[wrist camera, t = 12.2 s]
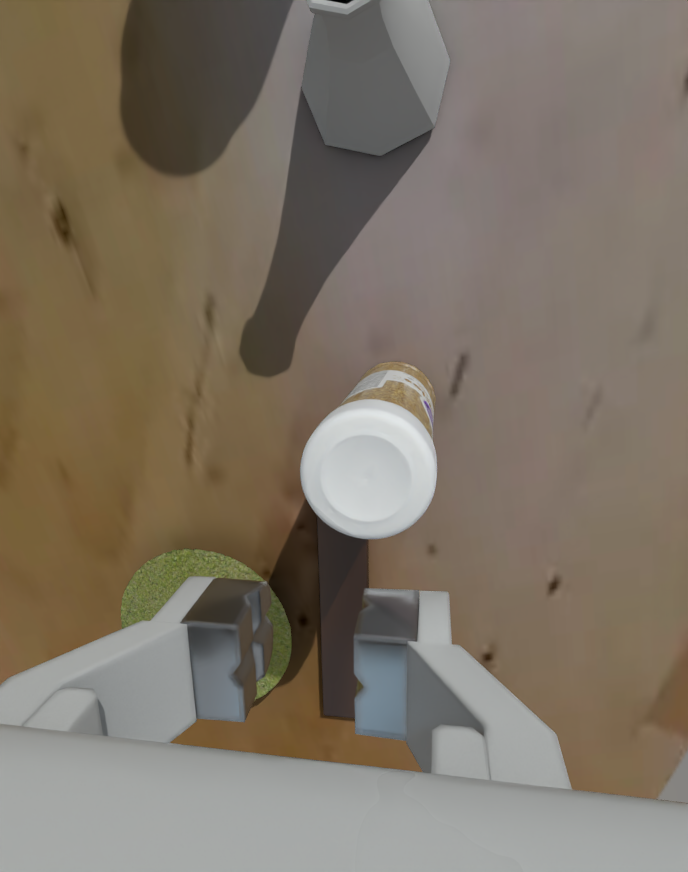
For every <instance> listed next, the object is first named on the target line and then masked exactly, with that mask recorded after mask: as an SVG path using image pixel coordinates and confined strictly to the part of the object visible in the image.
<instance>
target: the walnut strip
mask: <svg viewBox="0 0 688 872" xmlns="http://www.w3.org/2000/svg"><path fill="white" fill-rule="evenodd" d="M317 535H318V564H319V594H320V624H321V653H322V683H323V713H324V715H327V716H337V717H347V718H355V701H354V699H355V693H356V688H357V682H358V678H357V677H356V676H355V674H354V633H355V628H356V624H357V619H358V614H359V612H360V611H362V610H363V601H362V597H363V593H364V589H365V588H369V576H368V539H361V538H355V537H352V536H348V535H345V534H343V533H341V532H339V531H337V530H335V529H333V528H332V527H330V526H329V525H327V524H326V523H325V522H324V521H322V520H321V519H320V518H319V516H318V515H317Z"/></svg>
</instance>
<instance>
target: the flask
mask: <svg viewBox="0 0 688 872" xmlns="http://www.w3.org/2000/svg"><path fill="white" fill-rule="evenodd" d="M306 1H307V3H308V6H309V8H310V11H311V12H312V13H314V14H315V15H314V18H313V23H312V29H311V35H310V40H309V46H308V52H307V58H306V63H305V69H304V75H303V81H302V87H301V88H302V90H303V92H304V95H305V97H306V100H307V102H308V104H309V107H310V109H311V112H312V114H313V116H314V119H315V121H316V124H317V126H318V128H319V131H320V133H321V136H322V138H323V140H324V143H325V145H330V146H334V147H339V148H344V149H349V150H354V151H358V152H363V153H368V154H373V155H378V156H382V155H384V154H385V153H387V152H389V151H391V150H393V149H395V148H397V147H399V146H401V145H402V144H404V143H406V142H408V141H410V140H412V139H414V138H416V137H418V136H419V135H421V134H423V133H425V132H427V131H429V130H431V129H433V128H435V123H436V119H437V115H438V111H439V107H440V103H441V98H442V94H443V90H444V86H445V82H446V78H447V73H448V69H449V65H450V58H449V56H448V53H447V50H446V47H445V45H444V42H443V39H442V37H441V34H440V31H439V28H438V26H437V23H436V20H435V18H434V15H433V12H432V9H431V7H430V4H429V1H428V0H306Z"/></svg>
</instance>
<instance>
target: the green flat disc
mask: <svg viewBox="0 0 688 872" xmlns="http://www.w3.org/2000/svg"><path fill="white" fill-rule="evenodd" d="M191 576H207V577H216V578H230V579H241V580H253V581H264V580H263V579H262V578H261V577H260V576H258V575H257V574H256V573H255V572H254V571H252V570H251V569H250V568H248V567H247V566H246V565H244V564H243V563H241V562H239V561H236V560H235V559H233V558H231V557H229V556H226V557H225V556H224V555H223V554H220V553H215V552H210V551H204V550H198V549H194V550H191V549H185V548H184V550H180V549H179V550H173V551H171V552H168V553H164V554H162V555H160V556H157V557H155V558H153V559H152V560H149V561H148V562H147V563H145V564H144V565H143V566H142V567H141V568H140V569H139V570H138V571H137V572H136V573H135V574H134V576H133V577H132V579H131V580H130V581H129V584H128V585H127V588H126V589H125V593H124V596H123V598H122V607H121V614H122V615H121V620H122V629H123V628H126V627H128V626H130V625H133V624H135V623H137V622H140V621H142V620H144V621H151V619H152V618H153V617H154V616H155V615H156V614H157V613H158V611H159V610H160V609H161V608H162V607H163V606H164V605H165V603H166V602H167V601H168V600H169V599H170V598H171V596H172V595H173V594H174V593H175V592H176V591H177V590H178V588H179V587H180V586H181V585H182V584H183V583H184V582H185V580H186V579H187V578H188V577H191ZM265 582H266V581H265ZM270 590H271V601H272V604H271V606H270V608H269V610H268V612H267V614H266V616H267V617H268V619H269V620H270V621H271V623H272V624H273V636H274V637H273V651H272V656H271V660H270V665H269V668H268V670H267V672H266V675H265V677H263V678H262V679H260V680H259V681H257V682H256V684H257V695H256V698H255V700H256V699H258V698H259V697H262V696H263V695H265V694H267V692H269V691H270V690H271V689H272V688H273V687H274V686H275V685H276V684H277V683H278V681H279V680H280V679H281V678H282V676H283V674H284V673H285V670H286V668H287V666H288V662H289V660H290V655H291V648H292V644H291V627H290V624H289V621H288V618H287V615H286V614H285V610H284V608H283V606H282V605H281V602H280V601H279V599H278V597H276V595H275V593H274V592H273V591H272V589H271V588H270Z"/></svg>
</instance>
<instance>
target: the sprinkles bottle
mask: <svg viewBox="0 0 688 872" xmlns="http://www.w3.org/2000/svg"><path fill="white" fill-rule="evenodd" d="M434 410H435V394H434V390H433V387H432V385H431V383H430V381H429V380H428V379H427V377H426V376H425V375H424V374H423V373H422V372H421V371H420V370H418V369H417V368H416V367H414V366H412V365H409V364H406V363H403V362H387V363H381V364H378V365H377V366H375V367H374V368H372V369H370V370H369V371H368V372H366V373H365V374H364V375H363V377H362V378H361V379H360V381H359V383H358V384H357V386H356V387H355V388H354V389H353V390H352V392H351V393H350V394H349V395H348V397H347V398H346V399H345V400H344V401H343V402H342V404H341V405H340V406H339V407H338V408H337V409H335V410H334V411H333V412H331V413H330V414H329V415H328V416H327V417H326V418H325V419H324V420H323V421H322V422H321V423H320V424H319V426H318V427H317V428H316V429H315V431H314V432H313V434H312V435H311V437H310V438H309V440H308V442H307V444H306V446H305V449H304V451H303V454H302V459H301V465H300V478H301V483H302V489H303V492H304V494H305V497H306V499H307V501H308V503H309V504H310V506H311V508H312V509H313V510H314V512H315V513H316V514H317V515H318V516H319V518H320V519H321V520H322V521H324V522H325V523H326V524H327V525H329V526H330V527H332V528H333V529H335V530H337V531H339V532H341V533H343V534H345V535H348V536H352V537H355V538H361V539H380V538H386V537H390V536H393V535H396V534H398V533H400V532H402V531H404V530H406V529H408V528H409V527H410V526H412V525H413V524H414V523H415V522H416V521H418V520H419V519H420V517H421V516H422V515H423V514H424V513H425V511H426V510H427V508H428V506H429V505H430V502H431V500H432V498H433V495H434V491H435V487H436V480H437V457H436V451H435V447H434V444H433V421H434Z"/></svg>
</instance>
